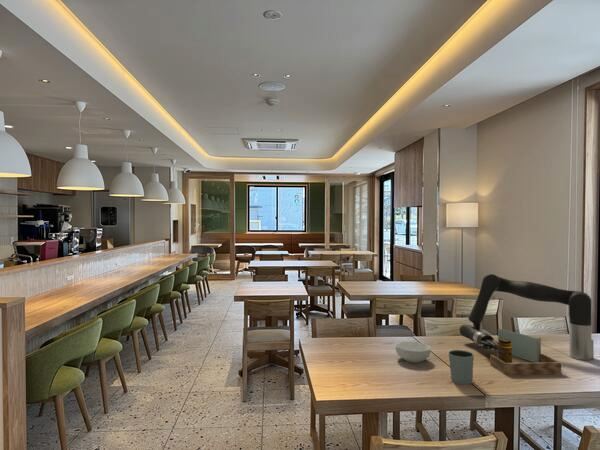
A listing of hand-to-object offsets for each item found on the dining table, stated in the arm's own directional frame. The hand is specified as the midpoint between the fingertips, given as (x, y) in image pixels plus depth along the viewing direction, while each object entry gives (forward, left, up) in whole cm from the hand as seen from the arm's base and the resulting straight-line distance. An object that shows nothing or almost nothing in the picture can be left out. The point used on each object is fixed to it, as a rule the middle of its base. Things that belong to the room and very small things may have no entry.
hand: (500, 349), depth 197 cm
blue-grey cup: (+30, +22, -7) cm, 38 cm away
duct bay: (-6, +9, -6) cm, 13 cm away
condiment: (0, +3, -7) cm, 7 cm away
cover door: (-13, -7, -6) cm, 17 cm away
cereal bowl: (+42, -6, -7) cm, 43 cm away
